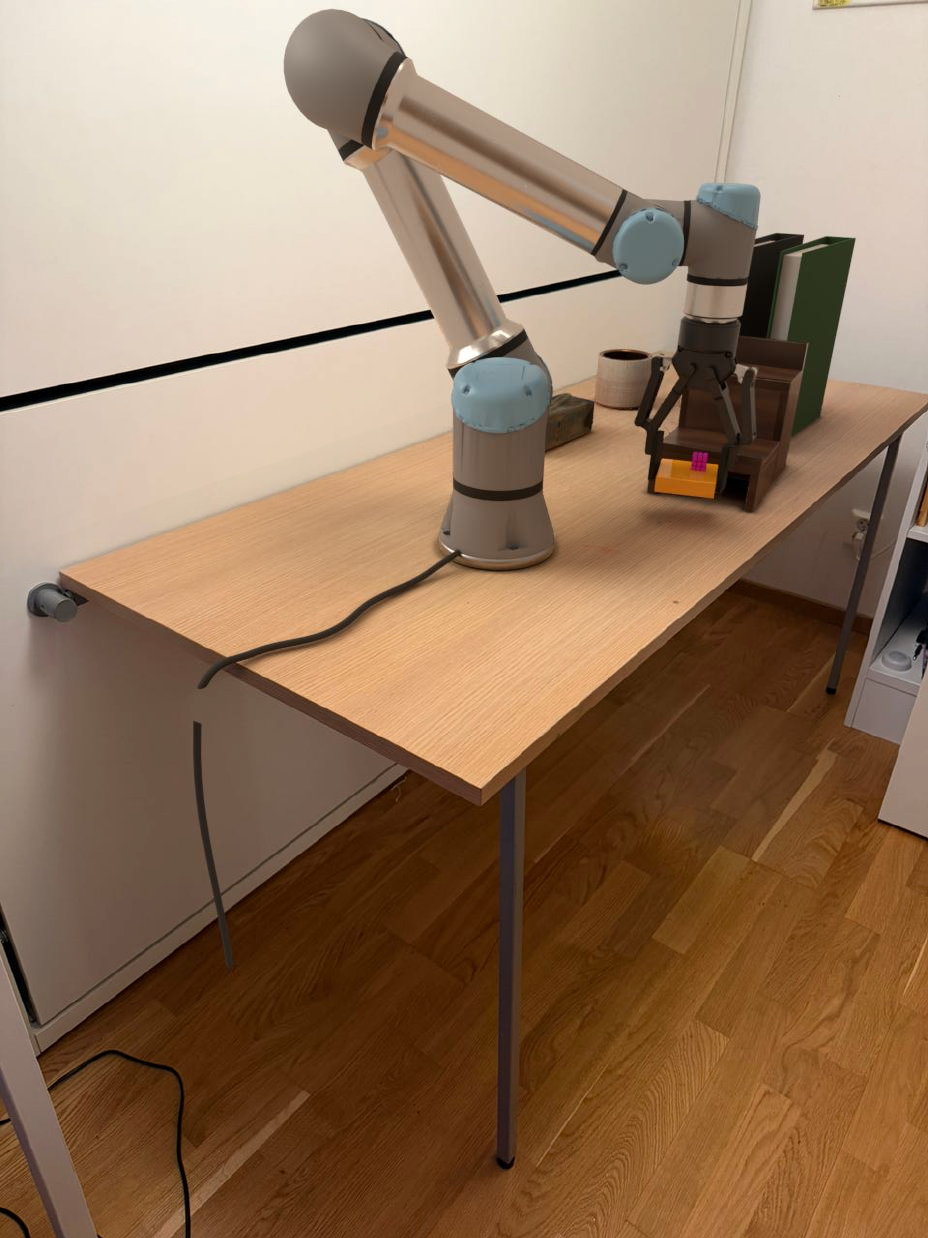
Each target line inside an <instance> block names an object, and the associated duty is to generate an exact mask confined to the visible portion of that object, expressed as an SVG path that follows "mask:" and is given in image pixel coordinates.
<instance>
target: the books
mask: <svg viewBox="0 0 928 1238" xmlns="http://www.w3.org/2000/svg"><path fill="white" fill-rule="evenodd" d="M804 239H805V234H799V233H784V232H775V233H771V234H768V235H767V234H766V235H763V236H759V237H755V243H754V248H753V254H752V259H751V265H750V270H749V277H748V282H747V283H748V284H747V290H746V296H745V302H744V308H743V314H742V315H741V316H740V317H739V318H737V320H739V322H740V323H741V326H740V332H739V335H741V336H750V337H760V338H769V339H779V340H789V341H798V342H808V348H807V354H806V359H805V364H804V370H803V375H802V380H801V386H800V391H799V396H798V402H797V407H796V412H795V417H794V423H793V428H792V433H791V438H792V437H794V436H795V435H797V434H798V433H799V432H801V431H802V430H804V429H806V428H807V427H808V426H810V425H811V424H812V423H814V422H815V421H816V420H818V419H820V418H821V414H822V410H823V409H822V408H823V404H824V400H825V394H826V389H827V384H828V379H829V375H830V374H829V373H830V368H831V364H832V359H833V353H834V350H835V349H834V348H835V344H836V339H837V334H838V329H839V324H840V319H841V316H842V315H841V314H842V309H843V304H844V300H845V294H846V289H847V284H848V279H849V274H850V270H851V263H852V259H853V255H854V251H855V250H854V249H855V245H856V237H848V236H846V237H845V236H831V235H825V236H822V237H819V238H815V239H813V240H810V241H807V242H804Z"/></svg>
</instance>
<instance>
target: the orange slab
mask: <svg viewBox="0 0 928 1238" xmlns="http://www.w3.org/2000/svg"><path fill="white" fill-rule="evenodd" d="M707 459H708V453H700V452H699V453H698V452H694V453H693V458H692V462H689V461H680V460H671V459H661V462H660V466H659V469H658V472H657V476H656V481H655V489H654V491H655V492H656V493H664V494H672V495H680V496H688V497H697V498H704V499H714V498H715V494H716V493H715V487H716V481H717V476H718V475H717V473H718V465H716V464H707Z"/></svg>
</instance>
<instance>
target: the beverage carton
mask: <svg viewBox="0 0 928 1238" xmlns="http://www.w3.org/2000/svg"><path fill="white" fill-rule="evenodd" d="M595 402H596V401H595V400H592V399H587V398H583V397H579V396H574V395H572V394H571V393H570V392H564V393H563V392H562V393H559V394H556V395H553V396H552V402H551V405H550V409H549V414H548V419H547V426H546V440H545V451H548V450H551V449H552V448H555V447H558V446H560V445H562V444H565V443H567V442H570V441H572V440H575V439H576V438H579V437H582V436H585V435H586V434H589V433H591V432H592V429H593V424H594V415H595V414H594V413H595Z"/></svg>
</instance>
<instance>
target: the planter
mask: <svg viewBox="0 0 928 1238" xmlns="http://www.w3.org/2000/svg"><path fill="white" fill-rule="evenodd" d="M653 357H654V355H653V354H652V353H650V352H648V351H644V350H639V349H631V348H613V349H605V350H602V351H600V352H598V357H597V366H596V367H597V370H596V377H595V378H596V379H595V389H594V392H595V393H594V401H595V402H596V404H598V405H600V406H602V407H604V408H609V409H614V410H615V409H616V410H636V409H639V407H640V404H641V402H642V399H643V396H644V393H645V390H646V387H647V384H648V382H649V379H650V376H651V360H652V358H653Z"/></svg>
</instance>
